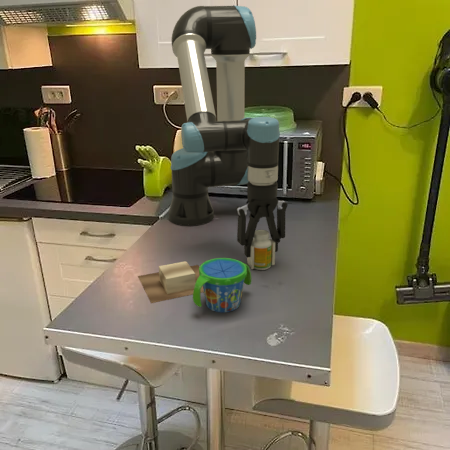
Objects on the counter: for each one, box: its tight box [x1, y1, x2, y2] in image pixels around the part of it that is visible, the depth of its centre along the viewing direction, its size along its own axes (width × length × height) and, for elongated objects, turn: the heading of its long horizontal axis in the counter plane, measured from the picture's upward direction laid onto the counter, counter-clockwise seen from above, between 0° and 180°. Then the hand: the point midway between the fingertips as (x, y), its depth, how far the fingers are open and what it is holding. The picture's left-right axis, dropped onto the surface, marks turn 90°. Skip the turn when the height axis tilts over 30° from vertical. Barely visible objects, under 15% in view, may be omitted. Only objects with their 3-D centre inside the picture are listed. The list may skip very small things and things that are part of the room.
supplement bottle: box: [252, 229, 272, 271], centre depth 127 cm, size 5×5×10 cm
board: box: [137, 264, 204, 304], centre depth 119 cm, size 14×16×1 cm
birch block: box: [158, 261, 195, 294], centre depth 117 cm, size 7×7×4 cm
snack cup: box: [192, 257, 252, 313], centre depth 108 cm, size 16×10×10 cm
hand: (260, 264), depth 129 cm, fingers closed on supplement bottle, 5 cm apart
